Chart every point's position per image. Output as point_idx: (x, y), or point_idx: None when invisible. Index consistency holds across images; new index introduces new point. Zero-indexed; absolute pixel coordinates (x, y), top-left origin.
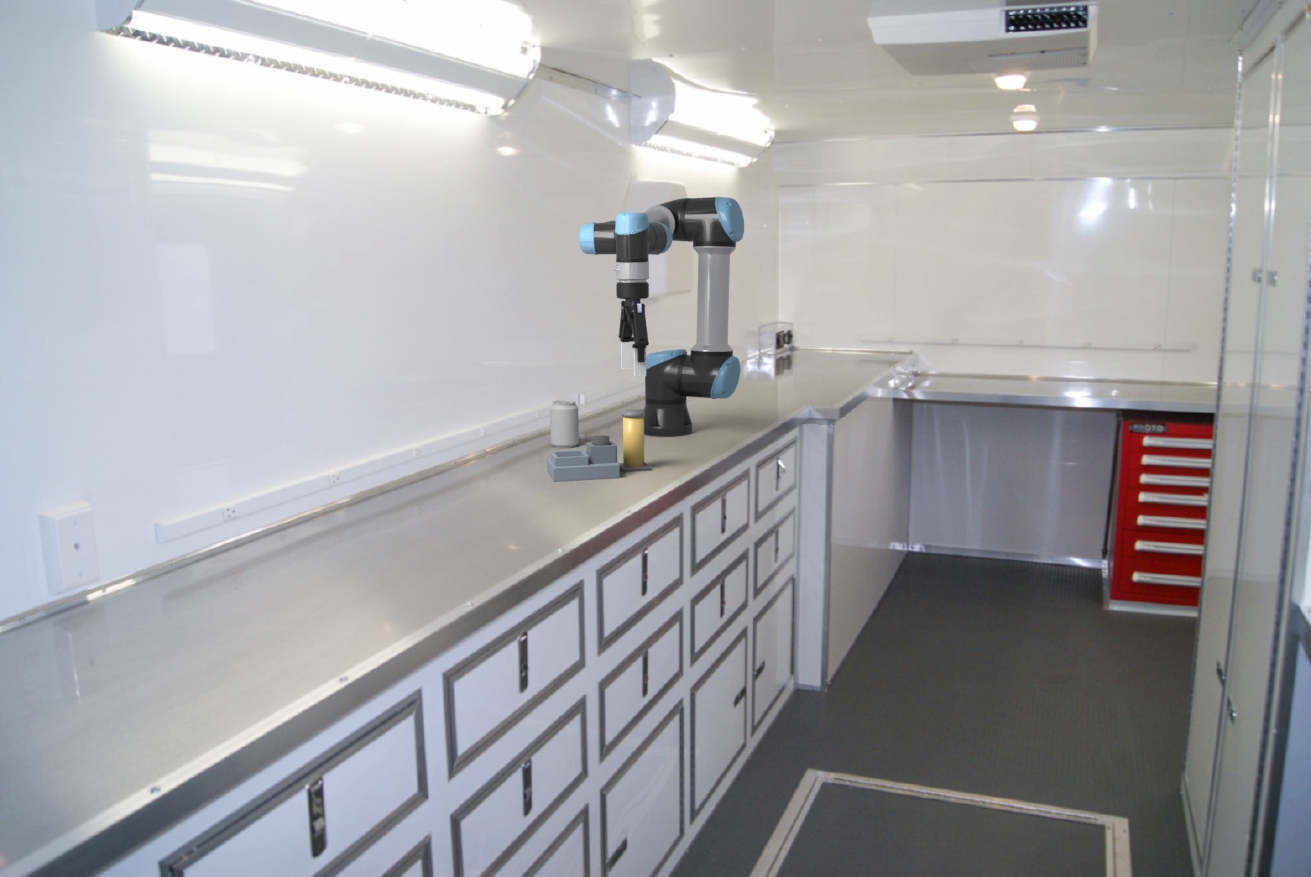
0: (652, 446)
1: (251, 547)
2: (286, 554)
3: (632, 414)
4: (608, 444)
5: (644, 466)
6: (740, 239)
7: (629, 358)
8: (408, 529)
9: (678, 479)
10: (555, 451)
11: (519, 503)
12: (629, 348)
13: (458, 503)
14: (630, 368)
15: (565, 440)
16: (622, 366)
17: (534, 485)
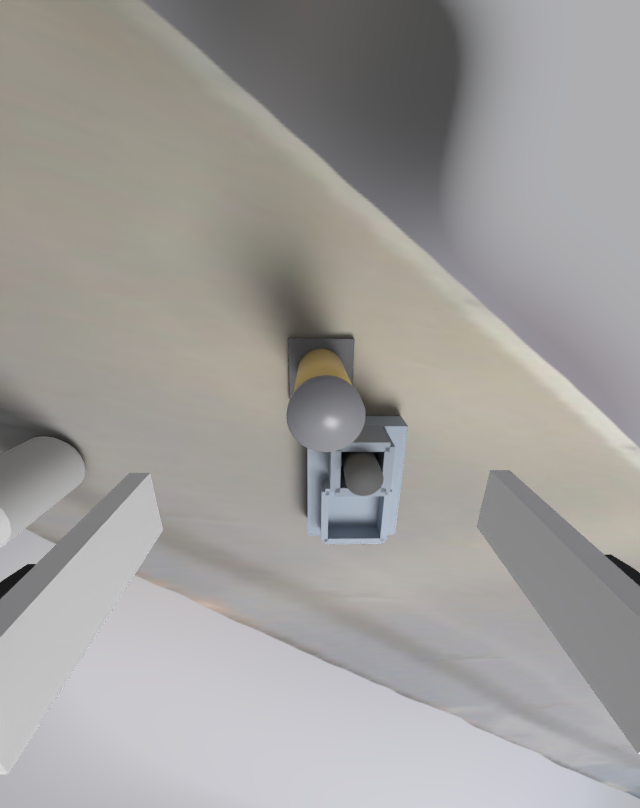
0: (62, 260)
1: (544, 747)
2: (583, 729)
3: (362, 426)
4: (374, 458)
5: (337, 351)
6: None
7: (110, 546)
8: (557, 665)
9: (459, 304)
10: (321, 536)
11: (503, 570)
12: (38, 631)
13: (467, 626)
14: (150, 490)
15: (77, 473)
16: (153, 543)
17: (403, 544)
